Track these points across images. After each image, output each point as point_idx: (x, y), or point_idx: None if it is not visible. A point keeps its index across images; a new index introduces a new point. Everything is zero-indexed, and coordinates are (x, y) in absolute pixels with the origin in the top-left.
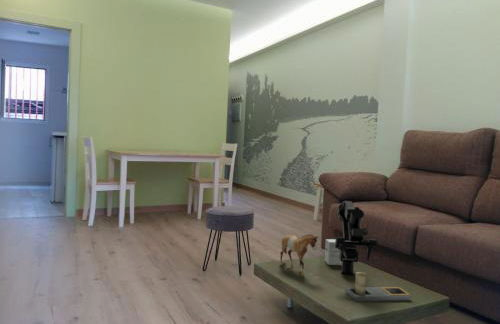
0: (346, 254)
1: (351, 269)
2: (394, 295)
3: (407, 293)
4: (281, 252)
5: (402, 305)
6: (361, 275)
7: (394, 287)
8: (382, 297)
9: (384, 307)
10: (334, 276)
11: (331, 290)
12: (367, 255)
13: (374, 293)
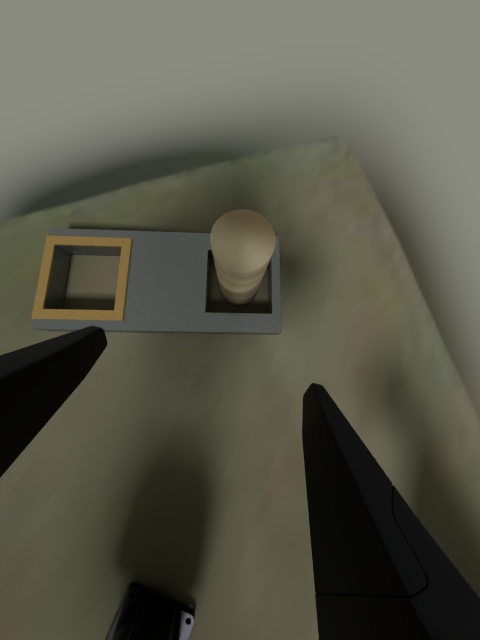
0: (342, 429)
1: (126, 637)
2: (118, 236)
3: (49, 246)
4: None
5: (127, 204)
6: (253, 213)
7: (56, 317)
8: (173, 234)
9: (199, 194)
10: (251, 553)
11: (326, 352)
12: (42, 370)
13: (188, 260)
